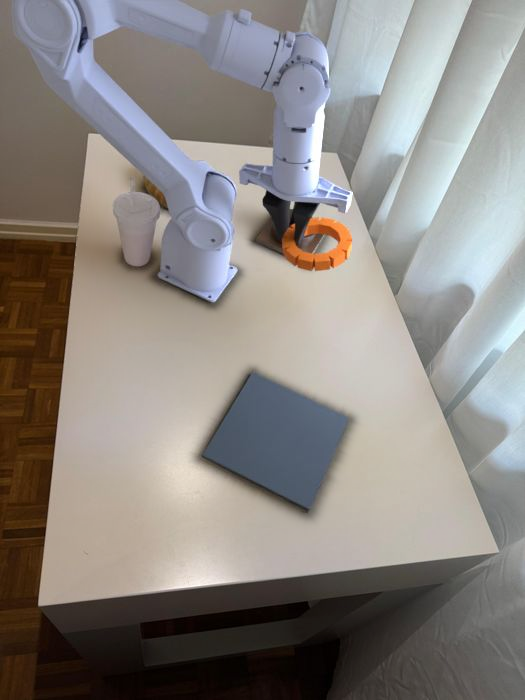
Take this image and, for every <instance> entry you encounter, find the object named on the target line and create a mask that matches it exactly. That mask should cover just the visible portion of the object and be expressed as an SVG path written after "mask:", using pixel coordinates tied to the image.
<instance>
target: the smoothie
mask: <svg viewBox="0 0 525 700" xmlns="http://www.w3.org/2000/svg"><path fill="white" fill-rule="evenodd" d="M160 205H161V204H160V203H159V202H158V201H157V200H156V199H155V198H154V197H152V196H151V195H150V194H149V193H146V192H143V191H142V192H141V191H135V178H133V177H131V178H129V192H124V193H122V194H120V195H118V196H117V197H116V198H115V199H114V201H113V203H112V214H113V216H114V218H115V219H116V223H117V228H118V232H119V238H120V243H121V247H122V253H123V257H124V261H125V262H126V263H127V264H128V265H130V266H133V267H142V266H145V265H147V264H148V263H149V262H150V259H151V253H152V249H153V243H154V237H155V232H156V226H157V222H158V220H159V219H160V216H161V206H160Z"/></svg>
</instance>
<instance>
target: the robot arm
mask: <svg viewBox="0 0 525 700" xmlns="http://www.w3.org/2000/svg"><path fill="white" fill-rule="evenodd" d="M252 15H253V14H252V12H251V11H248V10H246V9H244V8H239V10H238V11H237V12H235V11H232V10H230V9H225V10H222V11H219V12H218V13H215V14H212V15H209V14H207V13H205V12H203V11H200V10H198V9H196V8H195V7H193V6H190V5H188V4H187V3H185V2H183V1H180V0H11V18H12V19H11V20H12V31H13V32H12V33H13V35H14V36H15V37H16V38H17V39H18V40H19V41H20V43H22V44H23V45H24V46H25V47H26V48H27V49H28V51H29V53H30V55H31V57H32V59H33V61H34V62H35V65H36V67H37V69H38V71H39V73H40V75H41V77H42V80H43V81H44V83H45V84H46V85H47V86H48V87H49V88H50V89H51V90H52V92H54V93H55V94H56V95H57V96H58V97H59V98H60V99H61V100H63V102H64V103H66V104H67V105H68V106H69V108H71V109H72V110H73V111H74V112H75V113H76V114H77V115H79V117H80V118H81V119H83V120H84V121H85V122H86V123H87V125H89V126H90V127H91V128H92V129H94V131H96V133H98V134H99V135H100V136H101V137H102V138H103V139H104V140H105V141H106V142H108V143H109V144H110V145H111V146H112V147H113V149H115V150H116V151H117V152H118V153H119V154H120V155H122V157H124V158H125V160H127V161H128V162H129V164H130V165H132V166H133V167H134V168H135V169H136V170H137V171H138V172H139V173H140V174H142V176H143V175H144V176H145V177H146V178H147V179H148V180H149V181H150V182H151V183H153V184H154V185H155V186H156V187H157V188H158V189H159V190H160V191H161V192H162V193H163V194H164V196H165V199H166V202H167V206H168V208H167V209H168V213H169V216H170V219H169V221H168V222H167V224H166V225H165V228H164V231H163V233H162V238H161V245H160V271H158V273H157V278H158V279H161V280H163V281H165V282H167V283H169V284H171V285H174V286H175V287H178V288H180V289H181V290H184V291H186V292H187V293H190V294H193V295H195V296H196V297H199V298H201V299H203V300H206V301H208V302H210V303H215V302H216V301H217V300H218V298H219V297H220V296H221V295H222V293H223V292H224V290H225V289H226V288H227V286H228V285H229V284H230V282H231V281H232V280H233V278H234V277H235V276H236V274H237V273H238V268H237V267H236V266H233V265H232V264H230V261H231V256H232V255H231V254H232V248H233V243H234V237H235V227H234V225H233V222H232V221H233V215H234V209H235V208H234V207H235V201H236V198H237V195H238V194H237V193H238V192H237V191H238V190H237V186H236V183H235V182H234V181H233V179H232V178H231V177H230V176H229V175H227V174H226V173H224V172H221V171H218V170H217V169H215V168H213V167H212V166H211V165H210V164H209V163H208V162H207V161H206V160H192V159H191V158H190V157H189V156H188V155H187V154H186V153H185V152H184V150H182V149H181V148H180V147H179V146H178V145H177V144H176V143H175V142H174V141H173V140H172V138H170V136H168V135H167V134H166V133H165V131H163V130H162V128H161V127H159V125H158V124H156V122H155V121H154V120H153V119H152V118H151V117H150V116H149V115H148V114H147V113H146V112H145V111H144V110H143V109H142V108H141V107H140V106H139V105H138V104H137V103H136V102H135V101H134V100H133V99H132V97H130V96H129V94H127V93H126V91H124V90H123V88H122V87H121V86H120V85H119V84H118V83H117V82H116V81H115V80H114V79H113V78H112V77H111V76H110V75H109V74H108V73H107V72H106V71H105V70H104V69H103V68H102V67H101V66H100V65H99V64H98V63H97V61H96V60H95V58H94V56H95V55H94V40H95V39H98V38H99V37H102V36H104V35H107V34H109V33H110V32H113V31H116V30H117V29H120V28H128V29H130V30H134V31H137V32H139V33H142V34H145V35H147V36H148V35H149V36H152V37H153V38H154V37H155V38H157V39H160V40H163V41H167V42H170V43H172V44H176V45H179V46H182V47H184V48H187V49H189V50H190V49H191V50H194V51H197V52H199V53H200V54H201V55H202V58H203V59H204V60H205V63H206V64H207V66H208V68H209V69H210V70H212V71H215V72H217V73H219V74H222V75H224V76H227V77H230V78H232V79H234V80H237V81H240V82H242V83H244V84H247V85H249V86H252V87H254V88H257V89H260V90H263V91H265V92H269V93H272V95H273V98H274V100H275V102H276V108H275V109H274V113H273V132H272V133H273V134H272V164H271V165H262V164H261V165H260V164H254V163H248V162H245V163H244V164H243V166H242V167H241V168H240V170H239V171H238V172H239V173H238V174H239V175H238V176H239V184H240V185H242V186H248V185H249V184H252V185H254V186H255V185H256V186H259V187H261V188H263V189H264V190H265V193H264V196H263V197H262V199H261V200H262V203H261V204H262V206H263V208H264V209H265V210H266V211H267V213H268V215H269V216H270V219H271V218H272V220H273V222H274V225H275V228H276V231H277V235H278V239H279V240H282V238H283V235H284V234H285V232H286V231H287V229H288V227H289V220H290V209H291V204H292V202H294V203H295V202H298V203H297V205H296V206H295V208H294V210H293V214H294V220H295V233H294V240H295V244H296V245H299V244H300V243H301V241H302V240H303V238H304V235H305V231H306V228H307V225H308V223H309V221H310V219H311V217H313V216H314V214H315V213H316V211H317V210H318V208H319V206H320V205H325V206H329V207H333V208H336V209H337V212H339V213H341V214H347V212H348V210H349V208H350V207H351V204H352V198H353V191H349V190H346V189H344V188H342V187H340V186H338V185H336V184H334V183H333V182H331V181H329V180H328V179H326V178H324V177H322V176H320V175H319V174H320V165H321V156H322V155H321V154H322V148H323V147H322V145H323V136H324V135H323V134H324V125H325V111H324V110H325V107H326V102H327V101H328V99H329V97H330V93H331V87H330V68H329V67H330V65H329V55H328V51H327V48H326V46H325V45H324V43H323V42H322V40H320V39H319V38H318V37H316V36H314V35H313V34H312V33H311V32H310V31H296V32H292V31H290V30H286V31H285V33H284V32H282V31H280V30H277V29H275V28H273V27H270V26H269V25H266V24H264V23H260V22H259V21H256V20H254V19H252Z"/></svg>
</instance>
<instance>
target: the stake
mask: <svg viewBox="0 0 525 700" xmlns="http://www.w3.org/2000/svg"><path fill="white" fill-rule="evenodd" d="M297 203H298V202H294V204H293V206H292V208H290V220H289V228H290V226H291V225H293V224H295V220H294V214H293V210H294V208H295V206H296V205H297ZM311 218H314V217H313V216H312V217H311ZM325 236H326V235H325V234H320V233H316V234H308V235H306V236H304V238H303V240H302V241H301V243H300V244H299V245H296V246H297V247H298V248H299V249H300V250H302V251H303V252H307V253H312V254H315V252H316V250H317V249H318V247H319V245H320V244H321V242H322V241H323V239H324V238H325ZM255 242H256V243H257V244H258V245H259V244H260V245H262V246H264V247H266V248H268V249H270V250H273V251H275V252H277V253H280V254H282V255H284V252H283V246H282V240H279V239H278V235H277V231H276V228H275V225H274V222H273V220H272V218H271V217H270V219H269V221H268V222H267V223H266V224H265V226H264V228H263V229H262V230H261V231H260V233H259V234H258V235H257V237H256V240H255Z"/></svg>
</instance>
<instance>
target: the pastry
mask: <svg viewBox="0 0 525 700" xmlns="http://www.w3.org/2000/svg"><path fill="white" fill-rule="evenodd" d="M142 177H143V185H144V187H145V189H146V191H147V194H148V195H150V196H152V197H154V198H155V199H156V200H157V201H158V203H159V205H161V206H163V207H164V208H166V209H168V206H167V202H166V199H165V196H164V194H163V193H162V192H161V191H160V190H159V189H158V188H157V187H156V186H155V185H154V184H153V183H151V182H150V181H149V180H148V179H147V178H146V177H145V176H144V175H143V174H142Z"/></svg>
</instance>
